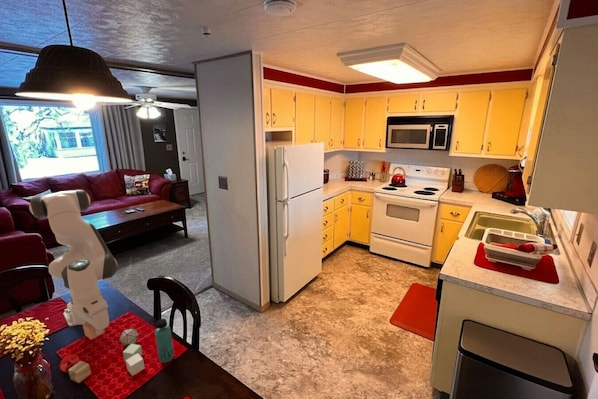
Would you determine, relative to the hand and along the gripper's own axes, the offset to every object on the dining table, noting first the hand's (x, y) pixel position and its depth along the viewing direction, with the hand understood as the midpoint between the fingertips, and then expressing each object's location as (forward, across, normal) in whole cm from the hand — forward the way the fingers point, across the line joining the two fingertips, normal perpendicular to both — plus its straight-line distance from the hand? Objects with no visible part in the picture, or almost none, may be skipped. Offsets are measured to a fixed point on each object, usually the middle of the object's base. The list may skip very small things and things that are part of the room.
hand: (94, 330), depth 118 cm
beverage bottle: (+21, +17, +18) cm, 33 cm away
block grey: (+21, +10, +8) cm, 25 cm away
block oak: (+21, -6, -6) cm, 23 cm away
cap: (+21, -15, -6) cm, 27 cm away
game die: (+21, -6, +15) cm, 27 cm away
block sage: (+21, +3, +11) cm, 24 cm away
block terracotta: (+2, 0, 0) cm, 2 cm away
